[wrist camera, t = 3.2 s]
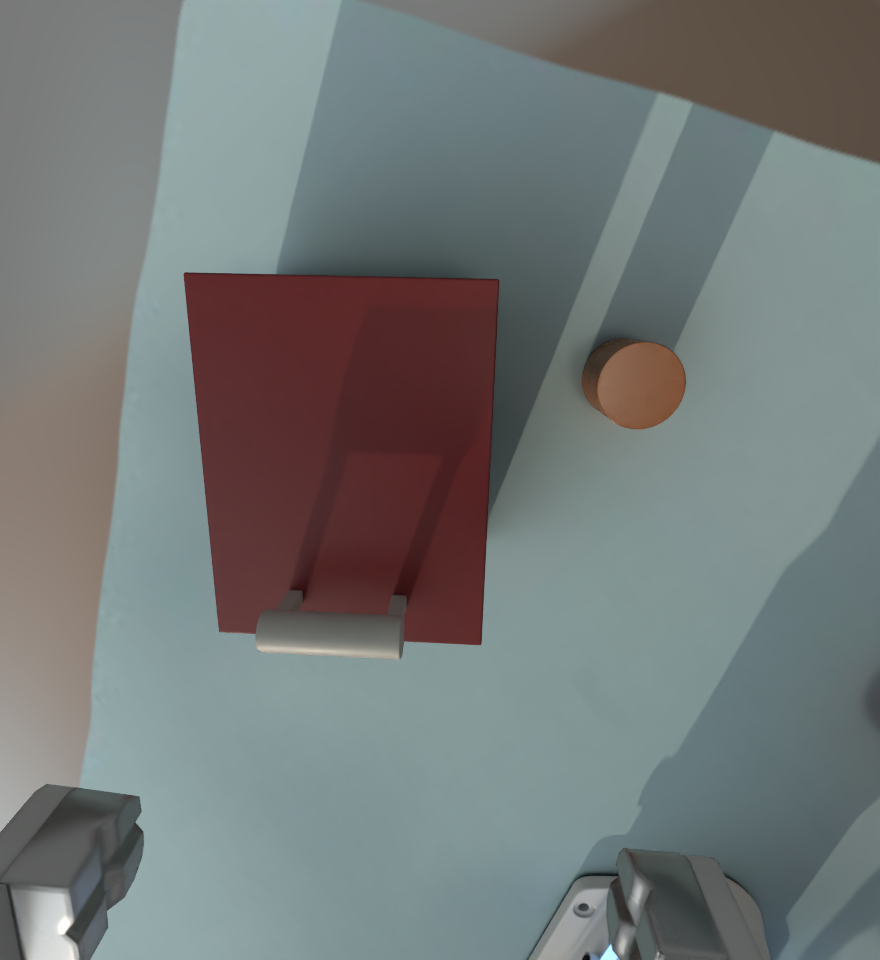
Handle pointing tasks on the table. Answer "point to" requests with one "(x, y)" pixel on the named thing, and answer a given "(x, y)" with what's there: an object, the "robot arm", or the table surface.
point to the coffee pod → (634, 382)
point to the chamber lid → (345, 456)
